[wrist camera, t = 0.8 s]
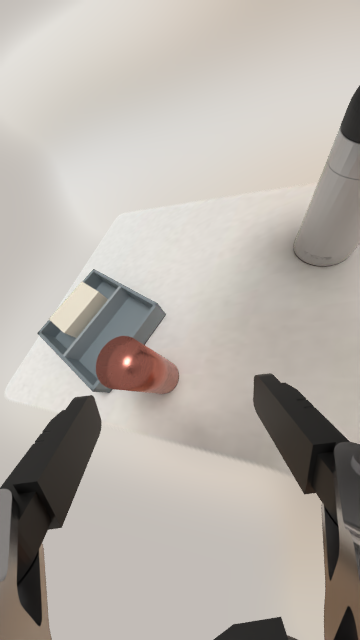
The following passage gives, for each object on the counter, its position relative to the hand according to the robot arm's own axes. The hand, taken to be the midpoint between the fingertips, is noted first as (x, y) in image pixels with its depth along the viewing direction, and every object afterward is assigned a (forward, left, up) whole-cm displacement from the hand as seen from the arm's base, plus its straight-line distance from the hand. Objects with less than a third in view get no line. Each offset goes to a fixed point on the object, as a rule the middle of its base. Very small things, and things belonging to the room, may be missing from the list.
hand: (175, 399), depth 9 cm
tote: (+1, -26, -21) cm, 34 cm away
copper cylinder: (+2, -9, -21) cm, 23 cm away
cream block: (+1, -31, -20) cm, 37 cm away
